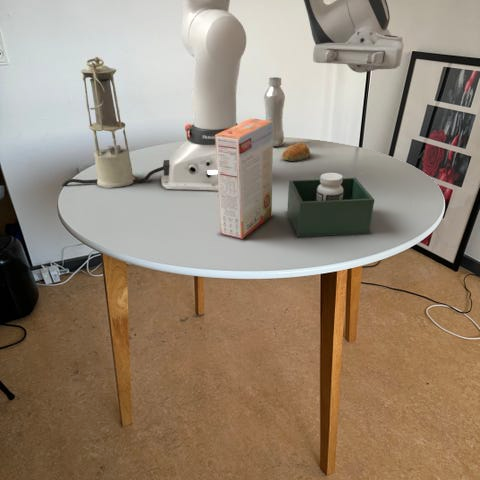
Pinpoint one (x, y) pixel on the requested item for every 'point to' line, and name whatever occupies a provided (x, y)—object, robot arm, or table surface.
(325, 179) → the pill bottle
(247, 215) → the cracker box
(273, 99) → the plastic bottle
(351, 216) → the bin
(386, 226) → the table surface
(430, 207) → the table surface
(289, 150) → the pastry
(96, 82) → the lamp
